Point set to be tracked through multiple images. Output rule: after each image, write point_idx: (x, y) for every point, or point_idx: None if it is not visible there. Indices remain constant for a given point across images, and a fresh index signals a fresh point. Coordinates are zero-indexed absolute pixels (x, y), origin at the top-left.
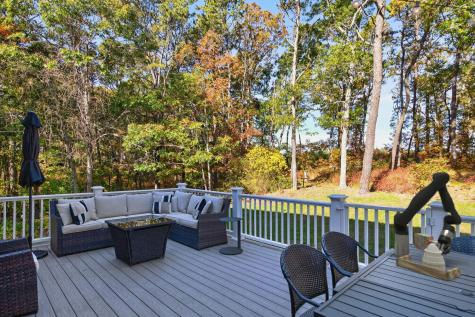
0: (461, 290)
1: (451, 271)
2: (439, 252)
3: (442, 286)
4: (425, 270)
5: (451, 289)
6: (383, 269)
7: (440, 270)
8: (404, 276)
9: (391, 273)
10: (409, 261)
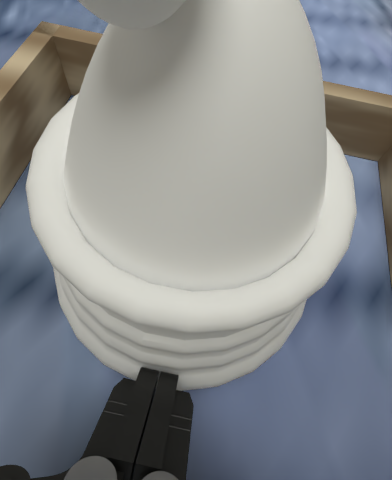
0: (3, 14)
1: (12, 62)
2: (73, 97)
3: (86, 14)
4: None
5: (47, 5)
6: (378, 57)
7: (88, 34)
8: None
9: (319, 34)
10: (327, 90)
